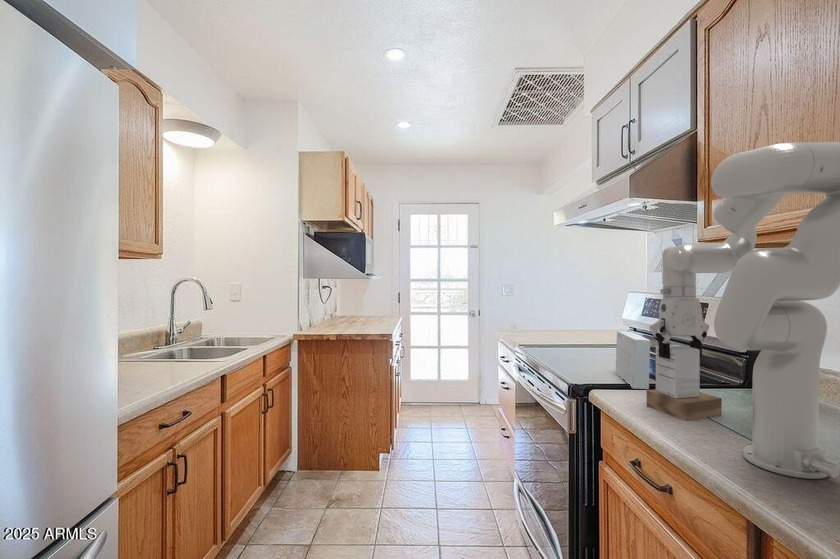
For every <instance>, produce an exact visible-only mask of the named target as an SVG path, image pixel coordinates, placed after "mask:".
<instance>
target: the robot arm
mask: <svg viewBox="0 0 840 559" xmlns="http://www.w3.org/2000/svg"><path fill="white" fill-rule="evenodd" d="M710 184H711V185H710V186H711V189H712V191H713V193H714V194H716V196H718V197H720V198H722V199H721V200H720V201H719V203H718V204H717V205H716V206H715V208H714V210H713V218H714V219H715V221H716V222H717V224H718V226H720V227H721V228H723V229H724V230H726V231H728V232H729V233H730V235H729V236H728V237H727V238H726V239H725V240H724V241H723V242H701V243H699V242H698V243H696V242H691V243H689V242H688V243H683V244H679V245H677V246H670V247H666V248H664V249H663V250H662V255H661V256H662V266H661V267H662V288H661V289H660V292H659V293H660V294H661V295H662V297H661V298H660V305H659V310H658V311H659V312H658V321H657V322H654V323H653V324H652V325H650V326H649V330H650V333H651V334H652V337H653V339H655V341H656V343H658V346H659V357H661V358H666V359H669V358H670V345H671V344H670V343H668V342H669V341H670V339H672V337H689V338H690V339H691V340H690V341H689V347H691V348H696V349H699V350H700V358H702V357H703V344H702V343H704V342H705V338H706V337H707V336H708V332H709V329H710V325H709V324H708V323H706V322H705V321H704V319H703V310H702V305H701V301H700V298H699V297H697V279H696V278H697V277H696V276H697V274H724V273H729V272H731V273H730V275H729V278H728V280H727V283H726V286H725V289H724V291H723V294H722V296H721V298H720V302H719V303H718V306H717V309H716V312H715V314H714V322H713V324H714V325H713V326H714V327H713V328H714V332H715V335H716V338H717V339H718V341H719V342H720V343H721V344H723V345H724V346H726V348H727V347H728V348H730V349H733V350H738V351H760V352H759V353H758V356H757V357H756V359H755V361H754V364H753V369H752V422H751V423H752V425H751V426H752V428H751V430H752V439H751V440H752V442H751V443H752V444H749V445H745V446H744V447H742V456H743V458H745V459H746V461H748V462H749V463H751V464H753V465H755V466H756V467H759V468H761V469H763V470H766V471H769V472H773V473H775V474H779V475H782V476H787V477H793V478H798V479H807V480H809V479H811V480H817V479H818V480H819V479H820V480H821V479H825V478H827V477H830V478H834V479H835V478H837V477H839V475H840V463H838V462H836V461H833V460H829V459H827V457H826V449H824V448H821V447H819V432H820V431H819V429H820V428H819V422H820V421H819V416H820V415H819V414H820V411H819V409H820V408H819V407H820V406H819V404H820V403H819V402H820V400H819V399H820V398H819V392H820V391H819V390H820V365H821V357H822V354H823V348H824V345H825V342H826V339H827V333H828V325H827V320H826V317H825V316H824V314H823V312H822V311H821V310H820V309H819V308H817V307H816V306H815V305H814V304H811V303H809V302H806V301H819V300H824V299H826V298H829V297H831V296H833V295H834V293H835V292H836V291H837V290H838V289H839V288H840V141H826V142H824V141H821V142H820V141H819V142H818V141H817V142H816V141H815V142H813V141H812V142H808V141H807V142H806V141H805V142H804V141H802V142H800V141H799V142H797V141H796V142H792V141H791V142H780V143H776V144H770V145H767V146H763V147H759V148H755V149H750V150H747V151H742V152H738V153H735V154H732V155H729V156H727V157H726V158H725V159H723V160H722V161H720V163H719V164H717V166H716V168H715V169H714V171H713V173H712V175H711V180H710ZM788 194H792V195H793V194H797V195H798V194H799V195H800V194H801V195H803V194H806V195H807V194H808V195H809V194H811V195H813V194H825V198H824V199H823V200H821V201H820V202H819V203H818V204H816V205H815V206H814V207H813V208H812V209H810V210H809V211H808V212H807V213H806V214H805V216H804V217H803V218H802V220H801V221H800V223H798V226H797V229H796V231H795V234H794V236H793V238H792V239H791V241H790V243H789V244H788V245H786V246H784V247H764V248H758V249H755V247H756V244H757V238H758V237H757V236H758V234H757V228H756V226H758V224H759V223H761V221H762V220H763V219H764V218H765V217H766V216H767V215H768V214H769V213H770V212H771V211H772V210H773V209H774V208H775V207H776V206H778V204H779V203H780V202H781V201H782V200H783V199H784V198H785V197H786V196H787V195H788Z"/></svg>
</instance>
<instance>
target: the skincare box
mask: <svg viewBox="0 0 840 559" xmlns="http://www.w3.org/2000/svg"><path fill="white" fill-rule="evenodd" d="M650 355H651V339H648V338H646V337H643V336H642V335H639V334H637V333H634V332H633V331H625V330H617V331H616V349H615V371H614V372H615V375H616V376H618V377H619V376H620V377H621V378H622V379H624V380H625V381H626V382H628V383H629V384H630V386H631V387H630V386H629V387H630V388H632V389H636V390H639V389H640V390H650V361H651V360H650V359H651V356H650ZM620 377H619V378H620ZM621 378H620V379H621ZM622 379H621V380H622ZM624 380H623V381H624ZM625 381H624V382H625ZM626 382H625V383H626Z"/></svg>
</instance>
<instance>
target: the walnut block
mask: <svg viewBox="0 0 840 559" xmlns="http://www.w3.org/2000/svg"><path fill="white" fill-rule="evenodd" d="M722 401H723V399H722V397H719V396H715V395H712V394H708V393H705V392H701V391H700V397H689V398H677V399H676V398H673V397H670V396H668V395H665V394H662V393H660V392H657V391H656V388H655V389H646V407H648V408H650V409H653V410H656V411H659V412H661V413H664V414H666V415H669V416H672V417H673V418H677V419H679V420H682V421H685V422H688V421H693V420H694V421H696V420H702V419H707V417H709V418H712V417H711V416H715V417H722V416H723V414H722V413H723V412H722V411H723V410H722V409H723V408H722V405H723V404H722V403H723V402H722ZM721 415H722V416H721Z"/></svg>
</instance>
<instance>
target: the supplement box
mask: <svg viewBox="0 0 840 559" xmlns="http://www.w3.org/2000/svg"><path fill="white" fill-rule="evenodd" d="M700 358H701V357H700V350H699V349H696V348H691V347H690V346H685V345H682V344H670V358H669V359H666V358H661V357H659V345H655V389H656V391H657V392H660V393H662V394H665V395H668V396H670V397H673V398H676V399H677V398H689V397H700V392H701V391H700V390H701V389H700V384H701V383H700V378H701V377H700V371H701V370H700V368H701V367H700V364H701V362H700V361H701V360H700Z"/></svg>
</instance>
